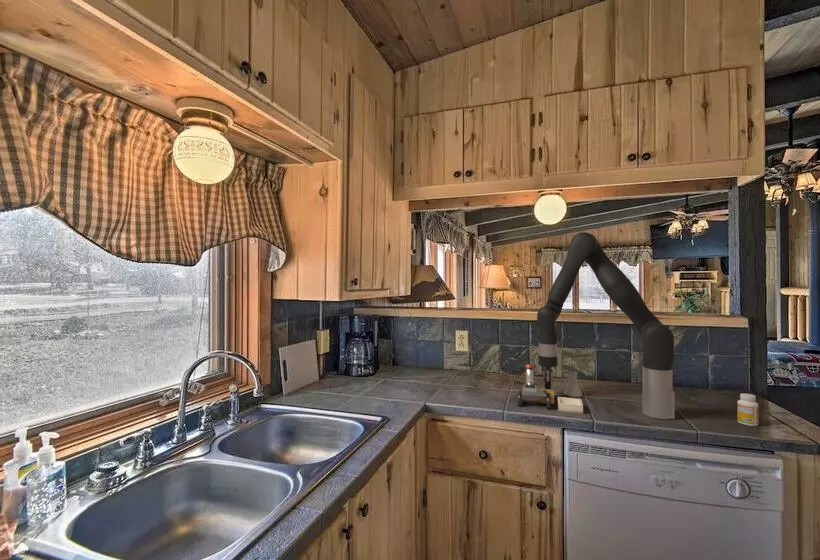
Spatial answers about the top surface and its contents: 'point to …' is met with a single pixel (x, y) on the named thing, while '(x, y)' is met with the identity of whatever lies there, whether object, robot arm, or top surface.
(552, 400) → the block
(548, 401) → the trolley
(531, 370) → the pin
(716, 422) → the top surface
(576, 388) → the flask
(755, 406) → the supplement bottle
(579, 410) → the tray
